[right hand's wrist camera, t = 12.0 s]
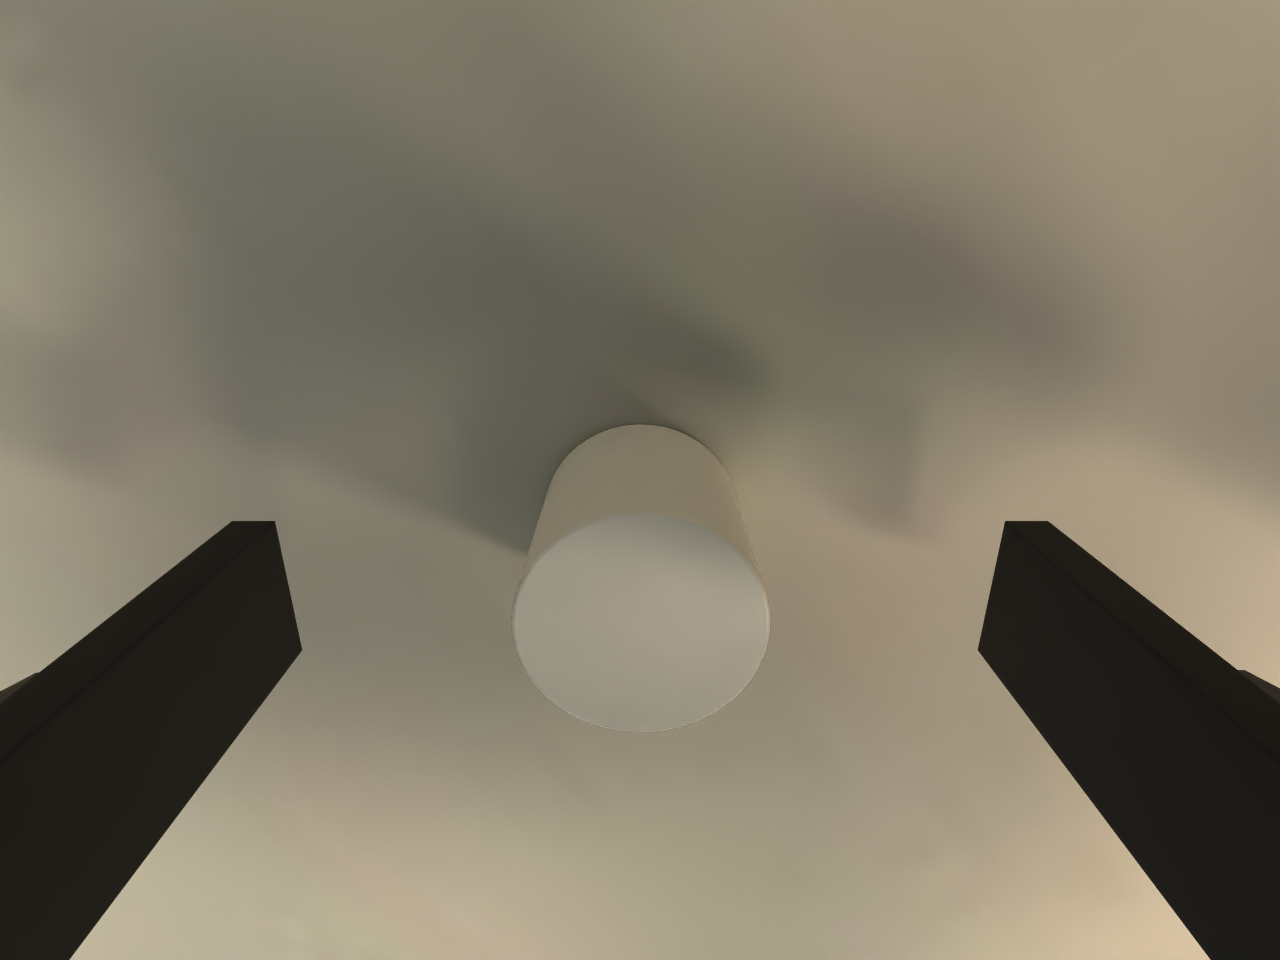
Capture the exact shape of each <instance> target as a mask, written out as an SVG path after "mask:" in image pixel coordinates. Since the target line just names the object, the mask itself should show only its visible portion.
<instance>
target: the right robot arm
mask: <svg viewBox="0 0 1280 960" xmlns="http://www.w3.org/2000/svg"><path fill="white" fill-rule="evenodd" d="M301 651H302V647H301V642H300V637H299V633H298V628H297V623H296V619H295V614H294V609H293V604H292V600H291V595H290V590H289V586H288V581H287V576H286V572H285V567H284V562H283V557H282V553H281V548H280V543H279V539H278V534H277V529H276V524H275V521H232V522H230V523H229V524H228V525H227V526H225V527H224V528H223V529H222V530H220V531H219V532H218V533H216V534H215V535H214V536H213V537H211V538H210V539H209V540H207V541H206V542H205V543H204V544H202V545H201V546H200V547H199V548H197V549H196V550H195V551H193V552H192V553H191V554H190V555H188V556H187V557H186V558H185V559H183V560H182V561H181V562H179V563H178V564H177V565H176V566H174V567H173V568H172V569H171V570H169V571H168V572H167V573H165V574H164V575H163V576H162V577H160V578H159V579H158V580H157V581H155V582H154V583H153V584H151V585H150V586H149V587H148V588H146V589H145V590H144V591H143V592H141V593H140V594H139V595H137V596H136V597H135V598H134V599H132V600H131V601H130V602H129V603H127V604H126V605H125V606H123V607H122V608H121V609H120V610H118V611H117V612H116V613H115V614H113V615H112V616H111V617H109V618H108V619H107V620H106V621H104V622H103V623H102V624H101V625H99V626H98V627H97V628H95V629H94V630H93V631H92V632H90V633H89V634H88V635H87V636H85V637H84V638H83V639H81V640H80V641H79V642H78V643H76V644H75V645H74V646H72V647H71V648H70V649H69V650H67V651H66V652H65V653H64V654H62V655H61V656H60V657H58V658H57V659H56V660H55V661H53V662H52V663H51V664H50V665H48V666H47V667H46V668H44V669H43V670H42V671H41V672H39V673H35V674H33V675H31V676H29V677H27V678H25V679H23V680H21V681H19V682H17V683H16V684H14V685H12V686H10V687H8V688H6V689H4V690H2V691H0V960H69V959H70V958H71V957H72V955H73V954H74V953H75V951H76V950H77V949H78V948H79V946H80V945H81V944H82V942H83V941H84V940H85V938H86V937H87V936H88V934H89V933H90V932H91V930H92V929H93V928H94V926H95V925H96V924H97V922H98V921H99V920H100V918H101V917H102V916H103V914H104V913H105V912H106V910H107V909H108V908H109V906H110V905H111V904H112V902H113V901H114V900H115V898H116V897H117V896H118V894H119V893H120V892H121V890H122V889H123V888H124V886H125V885H126V884H127V882H128V881H129V880H130V878H131V877H132V876H133V874H134V873H135V872H136V870H137V869H138V868H139V866H140V865H141V864H142V862H143V861H144V860H145V858H146V857H147V856H148V854H149V853H150V852H151V850H152V849H153V848H154V846H155V845H156V844H157V842H158V841H159V840H160V838H161V837H162V836H163V834H164V833H165V832H166V830H167V829H168V828H169V827H170V825H171V824H172V823H173V821H174V820H175V819H176V817H177V816H178V815H179V813H180V812H181V811H182V809H183V808H184V807H185V805H186V804H187V803H188V801H189V800H190V799H191V797H192V796H193V795H194V793H195V792H196V791H197V789H198V788H199V787H200V785H201V784H202V783H203V781H204V780H205V779H206V777H207V776H208V775H209V773H210V772H211V771H212V769H213V768H214V767H215V765H216V764H217V763H218V761H219V760H220V759H221V757H222V756H223V755H224V753H225V752H226V751H227V749H228V748H229V747H230V745H231V744H232V743H233V741H234V740H235V739H236V737H237V736H238V735H239V733H240V732H241V731H242V729H243V728H244V727H245V725H246V724H247V723H248V721H249V720H250V719H251V717H252V716H253V715H254V713H255V712H256V711H257V709H258V708H259V707H260V706H261V704H262V703H263V702H264V700H265V699H266V698H267V696H268V695H269V694H270V692H271V691H272V690H273V688H274V687H275V686H276V684H277V683H278V682H279V680H280V679H281V678H282V676H283V675H284V674H285V672H286V671H287V670H288V668H289V667H290V666H291V664H292V663H293V662H294V660H295V659H296V658H297V656H298V655H299V654H300V652H301ZM978 651H979V652H980V654H981V655H982V656H983V658H984V659H985V660H986V662H987V663H988V664H989V666H990V667H991V668H992V670H993V671H994V672H995V674H996V675H997V676H998V678H999V679H1000V680H1001V682H1002V683H1003V684H1004V686H1005V687H1006V688H1007V690H1008V691H1009V692H1010V694H1011V695H1012V696H1013V698H1014V699H1015V700H1016V702H1017V703H1018V704H1019V706H1020V707H1021V708H1022V709H1023V711H1024V712H1025V713H1026V715H1027V716H1028V717H1029V719H1030V720H1031V721H1032V723H1033V724H1034V725H1035V727H1036V728H1037V729H1038V731H1039V732H1040V733H1041V735H1042V736H1043V737H1044V739H1045V740H1046V741H1047V743H1048V744H1049V745H1050V747H1051V748H1052V749H1053V751H1054V752H1055V753H1056V755H1057V756H1058V757H1059V759H1060V760H1061V761H1062V763H1063V764H1064V765H1065V767H1066V768H1067V769H1068V771H1069V772H1070V773H1071V775H1072V776H1073V777H1074V779H1075V780H1076V781H1077V783H1078V784H1079V785H1080V787H1081V788H1082V789H1083V791H1084V792H1085V793H1086V795H1087V796H1088V797H1089V799H1090V800H1091V801H1092V803H1093V804H1094V805H1095V807H1096V808H1097V809H1098V811H1099V812H1100V813H1101V815H1102V816H1103V817H1104V819H1105V820H1106V821H1107V823H1108V824H1109V825H1110V827H1111V828H1112V829H1113V830H1114V832H1115V833H1116V834H1117V836H1118V837H1119V838H1120V840H1121V841H1122V842H1123V844H1124V845H1125V846H1126V848H1127V849H1128V850H1129V852H1130V853H1131V854H1132V856H1133V857H1134V858H1135V860H1136V861H1137V862H1138V864H1139V865H1140V866H1141V868H1142V869H1143V870H1144V872H1145V873H1146V874H1147V876H1148V877H1149V878H1150V880H1151V881H1152V882H1153V884H1154V885H1155V886H1156V888H1157V889H1158V890H1159V892H1160V893H1161V894H1162V896H1163V897H1164V898H1165V900H1166V901H1167V902H1168V904H1169V905H1170V906H1171V908H1172V909H1173V910H1174V912H1175V913H1176V914H1177V916H1178V917H1179V918H1180V920H1181V921H1182V922H1183V924H1184V925H1185V926H1186V928H1187V929H1188V930H1189V932H1190V933H1191V934H1192V936H1193V937H1194V938H1195V940H1196V941H1197V942H1198V944H1199V945H1200V946H1201V948H1202V949H1203V950H1204V951H1205V953H1206V954H1207V955H1208V957H1209V958H1210V959H1211V960H1280V688H1278V687H1276V686H1274V685H1272V684H1270V683H1268V682H1266V681H1264V680H1263V679H1261V678H1259V677H1257V676H1255V675H1253V674H1251V673H1249V672H1247V671H1245V670H1237V669H1236V668H1234V667H1233V666H1232V665H1230V664H1229V663H1228V662H1227V661H1225V660H1224V659H1223V658H1222V657H1220V656H1219V655H1218V654H1216V653H1215V652H1214V651H1213V650H1211V649H1210V648H1209V647H1207V646H1206V645H1205V644H1204V643H1202V642H1201V641H1200V640H1199V639H1197V638H1196V637H1195V636H1193V635H1192V634H1191V633H1190V632H1188V631H1187V630H1186V629H1185V628H1183V627H1182V626H1181V625H1179V624H1178V623H1177V622H1176V621H1174V620H1173V619H1172V618H1171V617H1169V616H1168V615H1167V614H1165V613H1164V612H1163V611H1162V610H1160V609H1159V608H1158V607H1157V606H1155V605H1154V604H1153V603H1151V602H1150V601H1149V600H1148V599H1146V598H1145V597H1144V596H1143V595H1141V594H1140V593H1139V592H1137V591H1136V590H1135V589H1134V588H1132V587H1131V586H1130V585H1129V584H1127V583H1126V582H1125V581H1123V580H1122V579H1121V578H1120V577H1118V576H1117V575H1116V574H1115V573H1113V572H1112V571H1111V570H1109V569H1108V568H1107V567H1106V566H1104V565H1103V564H1102V563H1101V562H1099V561H1098V560H1097V559H1095V558H1094V557H1093V556H1092V555H1090V554H1089V553H1088V552H1087V551H1085V550H1084V549H1083V548H1081V547H1080V546H1079V545H1078V544H1076V543H1075V542H1074V541H1072V540H1071V539H1070V538H1069V537H1067V536H1066V535H1065V534H1064V533H1062V532H1061V531H1060V530H1058V529H1057V528H1056V527H1055V526H1053V525H1052V524H1051V523H1050V522H1048V521H1005V524H1004V529H1003V534H1002V539H1001V543H1000V548H999V553H998V557H997V562H996V567H995V572H994V576H993V581H992V586H991V590H990V595H989V600H988V604H987V609H986V614H985V619H984V623H983V628H982V633H981V637H980V642H979V647H978Z"/></svg>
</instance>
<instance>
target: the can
mask: <svg viewBox="0 0 1280 960" xmlns="http://www.w3.org/2000/svg"><path fill="white" fill-rule="evenodd" d="M511 622H512V635H513V640H514V645H515V648H516V651H517V654H518V657H519V660H520V662H521V664H522V665H523V667H524V669H525V671H526V673H527V675H528V676H529V677H530V679H531V680H532V682H533V683H534V684H535V686H536V687H537V688H538V689H539V690H540V691H541V692H542V693H543V694H544V695H545V696H546V697H547V698H548V699H549V700H551V701H552V702H553V703H554V704H555V705H557V706H558V707H560V708H561V709H563V710H564V711H566V712H567V713H569V714H571V715H573V716H575V717H577V718H579V719H581V720H583V721H586V722H588V723H591V724H594V725H597V726H600V727H604V728H608V729H613V730H620V731H627V732H654V731H663V730H668V729H674V728H678V727H681V726H685V725H688V724H691V723H694V722H696V721H698V720H701V719H703V718H705V717H707V716H709V715H711V714H713V713H714V712H716V711H718V710H719V709H721V708H722V707H724V706H725V705H726V704H728V703H729V702H730V701H732V700H733V699H734V698H735V697H736V696H737V695H738V694H739V693H740V692H741V691H742V690H743V689H744V688H745V686H746V685H747V684H748V683H749V682H750V680H751V679H752V677H753V676H754V674H755V673H756V671H757V669H758V667H759V665H760V663H761V661H762V659H763V656H764V654H765V651H766V647H767V644H768V640H769V633H770V608H769V603H768V598H767V594H766V591H765V588H764V585H763V581H762V578H761V575H760V572H759V569H758V565H757V562H756V559H755V556H754V553H753V549H752V546H751V543H750V540H749V537H748V534H747V530H746V527H745V524H744V521H743V518H742V514H741V511H740V508H739V505H738V502H737V498H736V495H735V492H734V489H733V486H732V483H731V480H730V478H729V476H728V474H727V472H726V471H725V469H724V467H723V466H722V465H721V463H720V462H719V460H718V459H717V458H716V457H715V456H714V455H713V454H712V453H711V452H710V451H709V450H708V449H707V448H706V447H705V446H703V445H702V444H701V443H700V442H698V441H696V440H695V439H693V438H691V437H690V436H688V435H686V434H683V433H681V432H679V431H676V430H673V429H670V428H666V427H662V426H655V425H642V424H637V425H625V426H621V427H616V428H612V429H609V430H606V431H603V432H601V433H598V434H596V435H594V436H592V437H591V438H589V439H587V440H586V441H584V442H583V443H581V444H580V445H578V446H577V447H576V448H575V449H574V450H573V451H572V452H571V453H569V454H568V456H567V457H566V458H565V459H564V460H563V462H562V463H561V464H560V466H559V467H558V469H557V471H556V472H555V474H554V476H553V478H552V481H551V483H550V486H549V489H548V492H547V495H546V498H545V501H544V505H543V508H542V511H541V514H540V517H539V520H538V524H537V527H536V530H535V533H534V536H533V539H532V543H531V546H530V549H529V552H528V555H527V558H526V562H525V565H524V568H523V571H522V574H521V577H520V581H519V584H518V587H517V590H516V594H515V597H514V601H513V607H512V616H511Z"/></svg>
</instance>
